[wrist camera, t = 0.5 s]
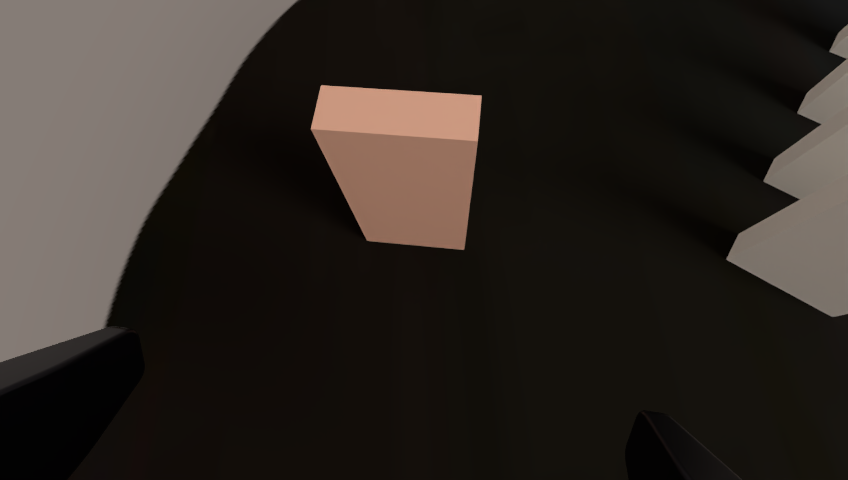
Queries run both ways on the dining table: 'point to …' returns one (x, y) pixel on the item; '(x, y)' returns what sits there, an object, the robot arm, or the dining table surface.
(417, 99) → the domino
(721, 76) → the dining table surface
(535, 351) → the dining table surface
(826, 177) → the domino
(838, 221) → the domino
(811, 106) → the domino
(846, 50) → the domino
